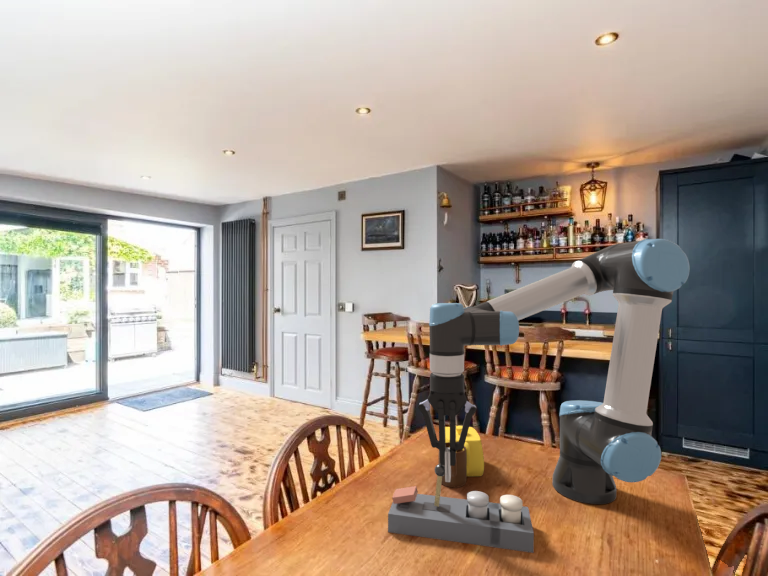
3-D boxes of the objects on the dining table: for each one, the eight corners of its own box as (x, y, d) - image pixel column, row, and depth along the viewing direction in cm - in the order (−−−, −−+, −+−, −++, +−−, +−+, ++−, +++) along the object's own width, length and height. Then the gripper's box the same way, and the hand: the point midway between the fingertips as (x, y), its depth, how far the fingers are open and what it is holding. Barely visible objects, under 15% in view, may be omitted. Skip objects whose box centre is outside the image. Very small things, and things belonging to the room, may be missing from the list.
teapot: (435, 451, 133) (435, 415, 133) (473, 451, 133) (473, 415, 133) (444, 481, 113) (444, 438, 113) (489, 481, 113) (489, 438, 113)
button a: (521, 516, 90) (521, 496, 90) (523, 529, 86) (523, 507, 86) (499, 514, 91) (499, 493, 91) (500, 526, 87) (500, 504, 87)
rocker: (417, 491, 95) (416, 486, 95) (415, 500, 91) (413, 494, 91) (397, 495, 96) (395, 489, 96) (393, 503, 92) (392, 497, 93)
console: (527, 524, 93) (528, 503, 93) (533, 552, 83) (533, 529, 83) (397, 507, 99) (397, 488, 99) (388, 532, 90) (388, 510, 90)
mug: (468, 497, 104) (468, 460, 104) (438, 495, 105) (438, 459, 105) (465, 475, 116) (465, 442, 116) (438, 474, 117) (438, 441, 117)
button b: (488, 512, 92) (488, 492, 92) (488, 524, 87) (488, 502, 87) (467, 510, 93) (467, 489, 93) (466, 521, 89) (466, 500, 88)
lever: (443, 502, 93) (447, 463, 93) (442, 508, 91) (446, 468, 90) (431, 500, 94) (435, 460, 94) (430, 506, 91) (434, 465, 91)
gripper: (476, 370, 94) (477, 474, 94) (420, 368, 96) (421, 469, 96) (476, 377, 86) (477, 490, 86) (416, 375, 89) (417, 484, 89)
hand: (447, 479), depth 91 cm, fingers closed
